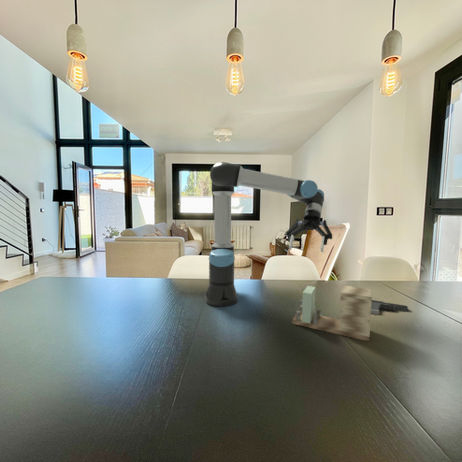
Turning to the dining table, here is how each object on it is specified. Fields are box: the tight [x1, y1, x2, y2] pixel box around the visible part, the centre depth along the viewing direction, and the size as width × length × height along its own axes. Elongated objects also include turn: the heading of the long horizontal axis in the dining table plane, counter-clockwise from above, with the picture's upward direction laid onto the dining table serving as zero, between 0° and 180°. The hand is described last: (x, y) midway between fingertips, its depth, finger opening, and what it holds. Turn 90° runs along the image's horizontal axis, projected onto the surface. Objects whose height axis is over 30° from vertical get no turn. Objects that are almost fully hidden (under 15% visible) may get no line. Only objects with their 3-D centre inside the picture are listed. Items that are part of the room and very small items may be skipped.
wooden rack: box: [291, 285, 373, 342], centre depth 86 cm, size 25×9×15 cm, turn 61°
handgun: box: [371, 299, 409, 315], centre depth 102 cm, size 3×18×12 cm
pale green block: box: [299, 285, 316, 323], centre depth 90 cm, size 4×9×11 cm, turn 152°
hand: (305, 248), depth 104 cm, fingers open, 13 cm apart
